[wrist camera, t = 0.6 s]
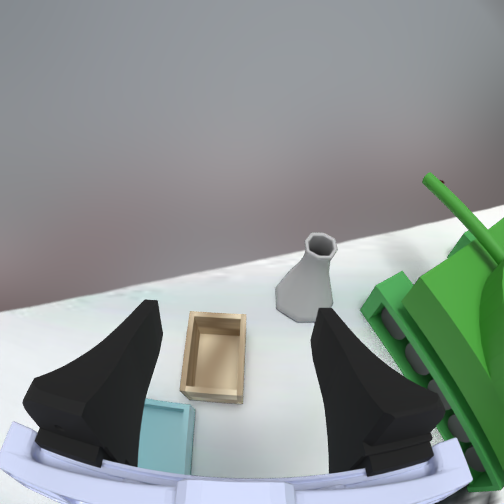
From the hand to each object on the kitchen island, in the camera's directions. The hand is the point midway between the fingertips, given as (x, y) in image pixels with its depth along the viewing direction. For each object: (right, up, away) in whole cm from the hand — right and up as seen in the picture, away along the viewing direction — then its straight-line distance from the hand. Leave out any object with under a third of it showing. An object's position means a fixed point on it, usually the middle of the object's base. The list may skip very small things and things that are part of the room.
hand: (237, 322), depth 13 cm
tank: (+30, -9, +19) cm, 36 cm away
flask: (+7, -2, +23) cm, 24 cm away
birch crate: (-3, -9, +17) cm, 20 cm away
